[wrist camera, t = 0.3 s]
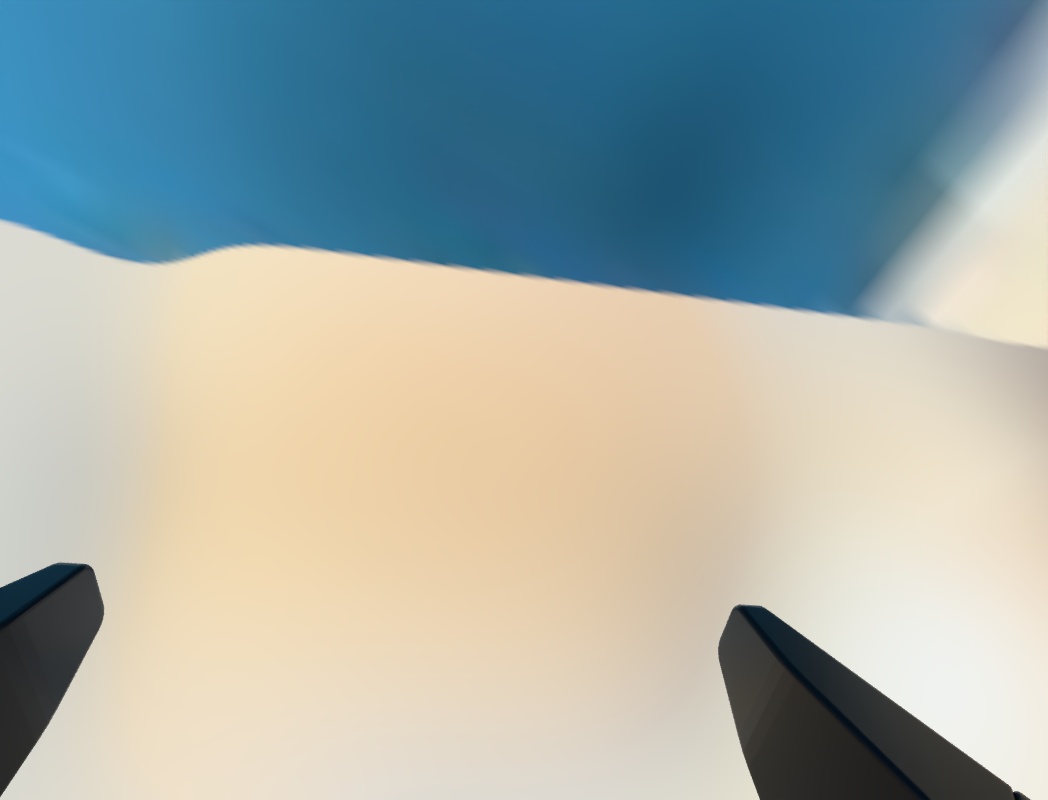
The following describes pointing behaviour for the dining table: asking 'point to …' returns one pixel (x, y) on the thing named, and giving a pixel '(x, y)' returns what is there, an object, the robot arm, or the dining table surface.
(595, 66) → the dining table surface
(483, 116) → the dining table surface
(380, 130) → the dining table surface
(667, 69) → the dining table surface
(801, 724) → the robot arm
